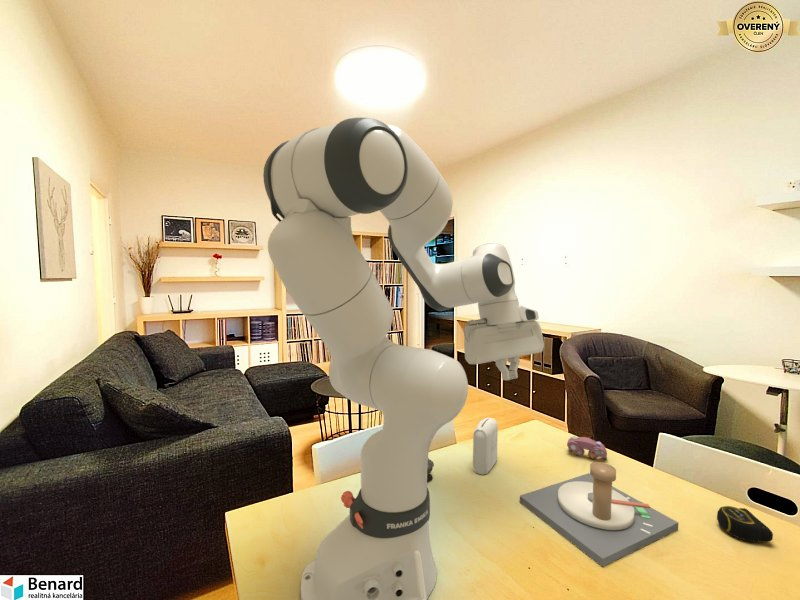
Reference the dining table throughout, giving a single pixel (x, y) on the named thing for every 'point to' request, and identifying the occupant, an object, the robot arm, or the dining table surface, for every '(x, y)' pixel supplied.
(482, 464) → the photo printer
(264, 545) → the dining table surface
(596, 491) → the tuning dial
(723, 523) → the tape measure
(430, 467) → the dark grey chess piece
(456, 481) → the dining table surface
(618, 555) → the dial board
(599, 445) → the pink toy car
